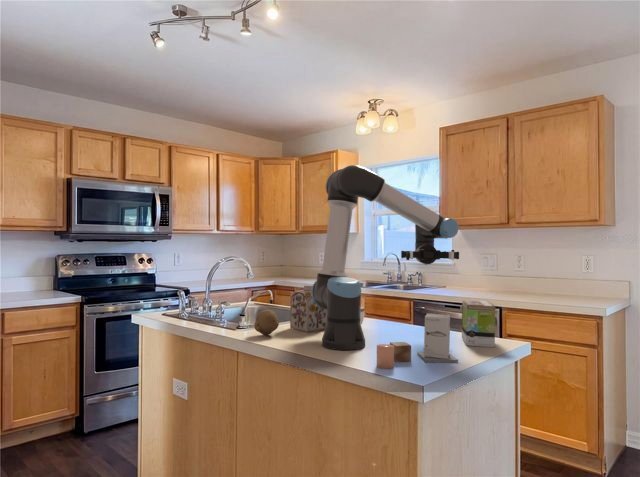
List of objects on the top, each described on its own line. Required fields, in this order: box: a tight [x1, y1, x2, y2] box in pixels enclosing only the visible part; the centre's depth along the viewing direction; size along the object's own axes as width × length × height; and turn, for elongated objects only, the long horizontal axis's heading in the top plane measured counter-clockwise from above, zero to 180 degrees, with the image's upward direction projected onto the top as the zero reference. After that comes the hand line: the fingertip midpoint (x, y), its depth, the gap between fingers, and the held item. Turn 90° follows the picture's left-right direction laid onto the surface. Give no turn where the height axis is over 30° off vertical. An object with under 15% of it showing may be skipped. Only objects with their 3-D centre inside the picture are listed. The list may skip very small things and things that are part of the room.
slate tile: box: [416, 351, 459, 364], centre depth 139 cm, size 10×10×1 cm
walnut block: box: [389, 341, 412, 363], centre depth 137 cm, size 5×5×5 cm
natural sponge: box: [254, 309, 280, 336], centre depth 171 cm, size 9×9×10 cm
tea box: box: [461, 299, 496, 348], centre depth 164 cm, size 15×10×15 cm, turn 168°
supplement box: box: [423, 313, 451, 359], centre depth 140 cm, size 7×7×13 cm
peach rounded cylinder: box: [376, 343, 395, 370], centre depth 129 cm, size 5×5×6 cm
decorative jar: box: [289, 285, 327, 333], centre depth 187 cm, size 12×12×18 cm
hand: (432, 255), depth 152 cm, fingers open, 13 cm apart
